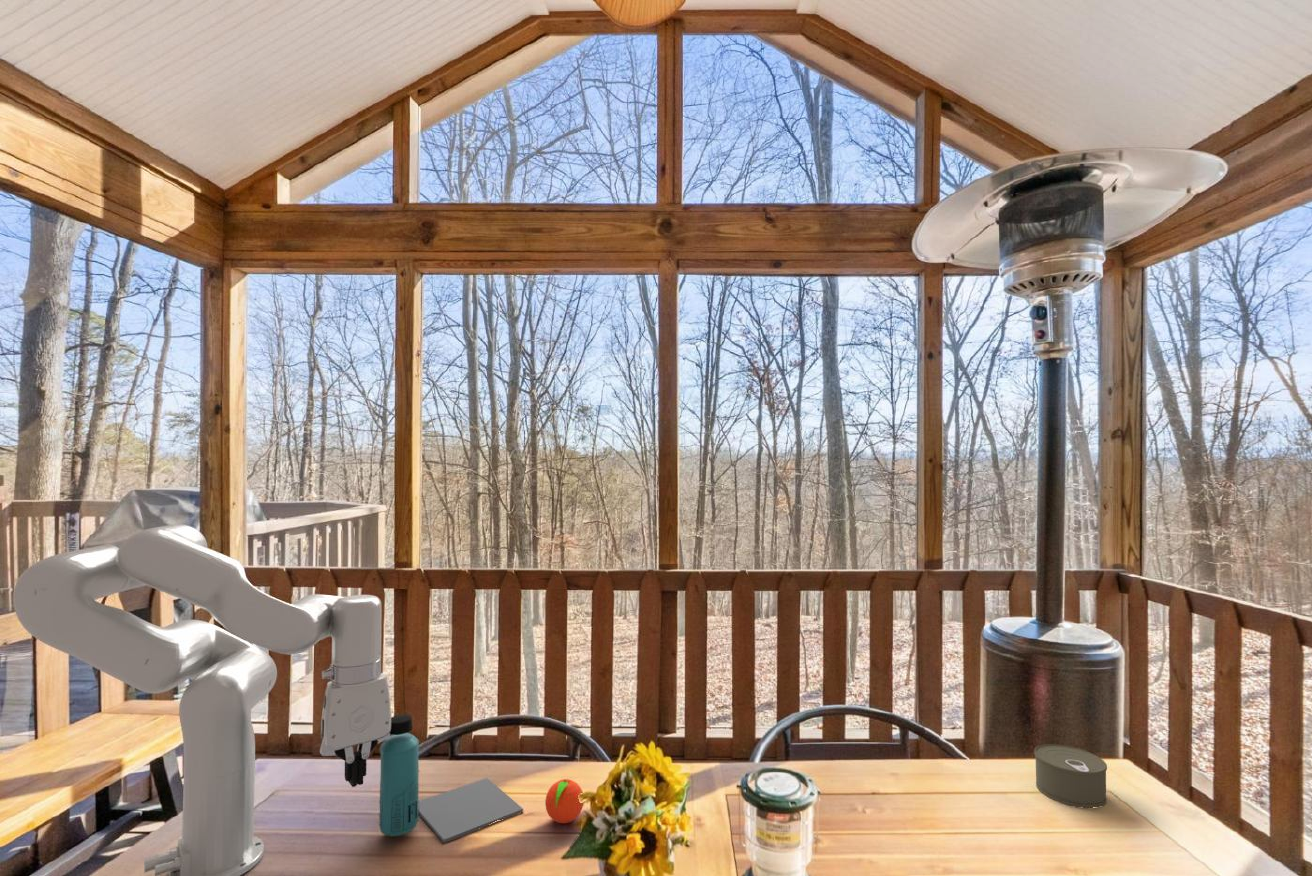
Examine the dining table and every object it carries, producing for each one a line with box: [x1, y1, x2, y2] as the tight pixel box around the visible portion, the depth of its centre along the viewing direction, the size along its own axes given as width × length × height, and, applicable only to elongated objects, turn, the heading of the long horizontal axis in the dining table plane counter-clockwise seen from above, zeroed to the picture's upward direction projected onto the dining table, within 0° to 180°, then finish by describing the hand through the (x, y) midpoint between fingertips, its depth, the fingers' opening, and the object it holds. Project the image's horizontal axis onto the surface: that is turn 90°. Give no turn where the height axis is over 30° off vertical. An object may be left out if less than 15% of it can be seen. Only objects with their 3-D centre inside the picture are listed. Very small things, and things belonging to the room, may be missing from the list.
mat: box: [418, 777, 524, 844], centre depth 119 cm, size 15×15×1 cm
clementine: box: [544, 778, 585, 824], centre depth 115 cm, size 8×7×7 cm
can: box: [1034, 743, 1108, 809], centre depth 126 cm, size 12×12×7 cm
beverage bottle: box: [378, 714, 420, 837], centre depth 112 cm, size 6×7×20 cm
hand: (355, 782), depth 107 cm, fingers closed
